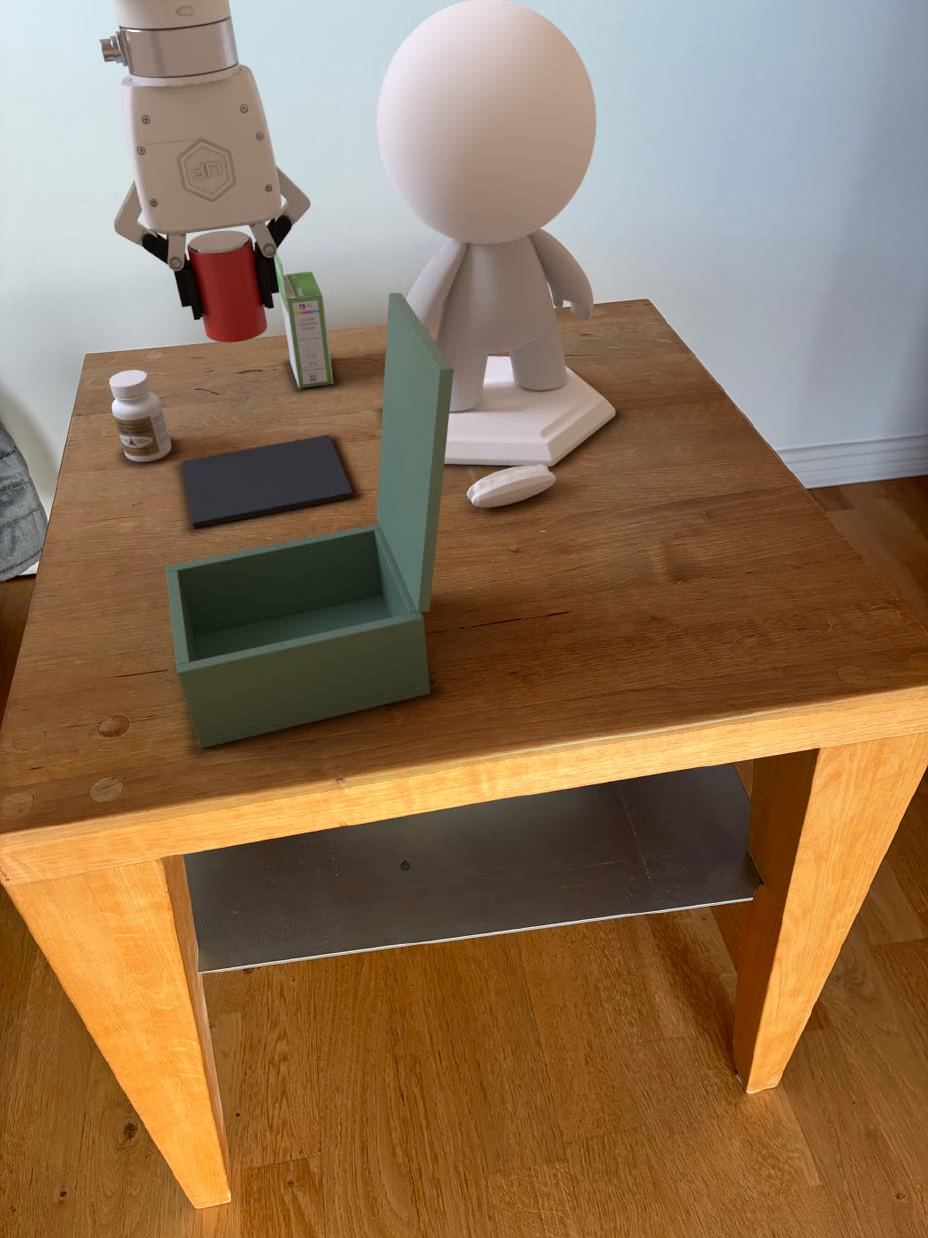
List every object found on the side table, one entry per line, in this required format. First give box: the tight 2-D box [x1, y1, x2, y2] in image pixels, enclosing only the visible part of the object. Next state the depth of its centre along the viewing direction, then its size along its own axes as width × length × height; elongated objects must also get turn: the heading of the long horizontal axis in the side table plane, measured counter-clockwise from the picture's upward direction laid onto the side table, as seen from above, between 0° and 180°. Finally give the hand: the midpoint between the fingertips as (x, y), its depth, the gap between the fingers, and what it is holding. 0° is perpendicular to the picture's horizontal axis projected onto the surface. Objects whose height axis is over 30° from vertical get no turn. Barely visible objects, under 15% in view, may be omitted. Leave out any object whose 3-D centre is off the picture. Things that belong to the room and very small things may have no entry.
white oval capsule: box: [466, 465, 557, 509], centre depth 84 cm, size 3×8×3 cm, turn 115°
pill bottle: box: [109, 369, 172, 463], centre depth 91 cm, size 4×4×8 cm
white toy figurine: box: [376, 0, 616, 468], centre depth 86 cm, size 20×23×35 cm
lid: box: [376, 292, 454, 613], centre depth 61 cm, size 16×12×1 cm
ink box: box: [274, 252, 335, 389], centre depth 101 cm, size 7×4×13 cm, turn 15°
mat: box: [182, 434, 354, 529], centre depth 89 cm, size 14×11×1 cm
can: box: [186, 230, 268, 343], centre depth 77 cm, size 5×5×7 cm
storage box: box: [164, 522, 431, 749], centre depth 67 cm, size 16×12×7 cm
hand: (232, 305), depth 78 cm, fingers closed on can, 5 cm apart
